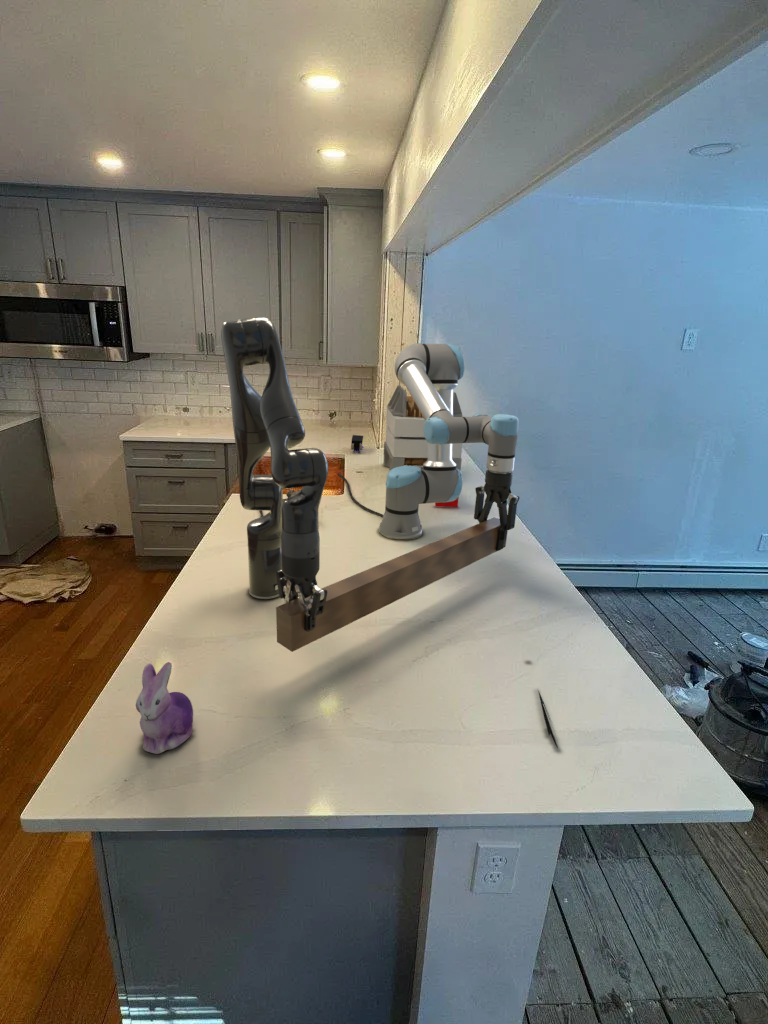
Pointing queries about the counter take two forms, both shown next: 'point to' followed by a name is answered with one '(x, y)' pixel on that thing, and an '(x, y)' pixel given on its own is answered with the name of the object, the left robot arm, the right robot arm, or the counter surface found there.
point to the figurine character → (356, 443)
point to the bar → (386, 583)
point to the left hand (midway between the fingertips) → (301, 624)
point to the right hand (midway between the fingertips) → (491, 546)
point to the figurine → (162, 711)
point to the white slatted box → (410, 433)
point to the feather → (547, 719)
